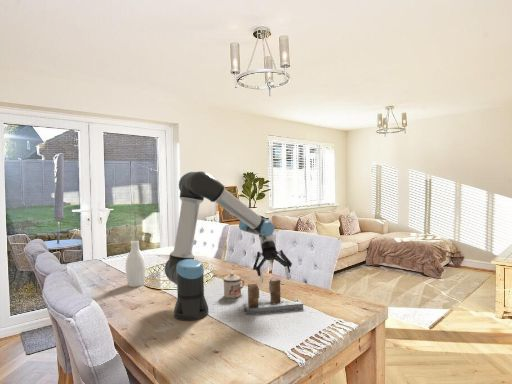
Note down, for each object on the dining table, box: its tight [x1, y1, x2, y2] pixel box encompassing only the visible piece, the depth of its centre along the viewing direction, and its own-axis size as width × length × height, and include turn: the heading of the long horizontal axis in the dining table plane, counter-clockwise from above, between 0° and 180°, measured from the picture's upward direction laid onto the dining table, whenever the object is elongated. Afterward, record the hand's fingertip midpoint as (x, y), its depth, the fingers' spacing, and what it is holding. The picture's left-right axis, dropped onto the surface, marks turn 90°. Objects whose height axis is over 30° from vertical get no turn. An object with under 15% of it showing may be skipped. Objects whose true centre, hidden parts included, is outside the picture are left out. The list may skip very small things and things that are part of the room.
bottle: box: [125, 240, 147, 288], centre depth 195 cm, size 11×11×25 cm
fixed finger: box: [247, 283, 260, 306], centre depth 153 cm, size 5×4×11 cm
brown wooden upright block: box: [268, 277, 282, 304], centre depth 162 cm, size 5×4×11 cm
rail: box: [243, 298, 304, 315], centre depth 153 cm, size 27×7×2 cm, turn 100°
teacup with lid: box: [222, 272, 245, 299], centre depth 173 cm, size 12×9×12 cm
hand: (275, 280), depth 166 cm, fingers open, 13 cm apart
